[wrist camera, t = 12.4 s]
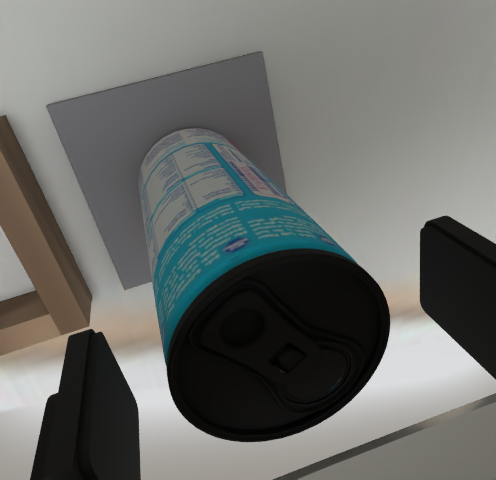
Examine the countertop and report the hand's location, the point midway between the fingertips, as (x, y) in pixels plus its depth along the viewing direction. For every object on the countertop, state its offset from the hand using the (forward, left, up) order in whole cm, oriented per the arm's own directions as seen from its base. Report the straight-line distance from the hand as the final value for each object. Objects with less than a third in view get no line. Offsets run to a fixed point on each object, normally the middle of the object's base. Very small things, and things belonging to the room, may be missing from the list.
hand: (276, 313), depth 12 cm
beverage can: (0, 0, -14) cm, 14 cm away
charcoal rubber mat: (+1, 0, -14) cm, 14 cm away
